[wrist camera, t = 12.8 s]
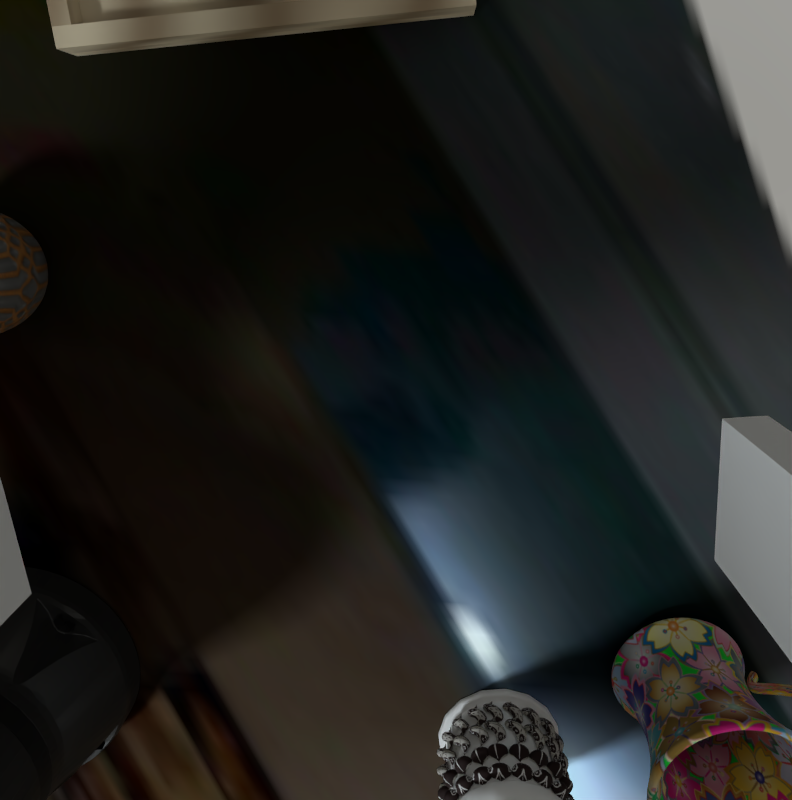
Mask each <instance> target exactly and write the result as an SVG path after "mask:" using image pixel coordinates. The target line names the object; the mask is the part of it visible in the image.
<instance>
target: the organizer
mask: <svg viewBox="0 0 792 800" xmlns="http://www.w3.org/2000/svg"><path fill="white" fill-rule="evenodd" d="M46 1H47V5H48V10H49V15H50V20H51V25H52V30H53V35H54V40H55V45H56V49H59V50H61V51H64V52H67V53H70V54H73V55H76V56H84V55H93V54H103V53H113V52H123V51H132V50H142V49H152V48H162V47H171V46H181V45H191V44H201V43H210V42H220V41H230V40H239V39H249V38H259V37H269V36H278V35H288V34H298V33H308V32H317V31H327V30H337V29H347V28H356V27H366V26H376V25H386V24H395V23H405V22H415V21H424V20H434V19H444V18H454V17H463V16H473V15H474V12H475V8H476V0H46Z"/></svg>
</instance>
